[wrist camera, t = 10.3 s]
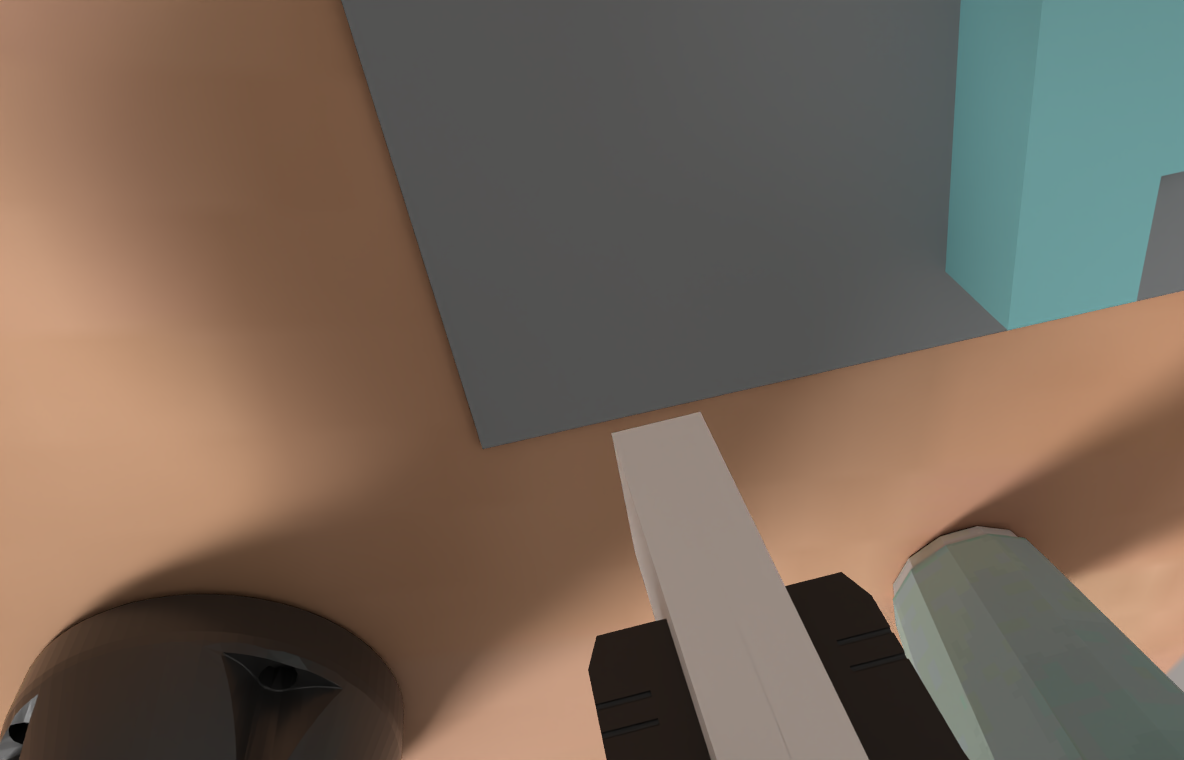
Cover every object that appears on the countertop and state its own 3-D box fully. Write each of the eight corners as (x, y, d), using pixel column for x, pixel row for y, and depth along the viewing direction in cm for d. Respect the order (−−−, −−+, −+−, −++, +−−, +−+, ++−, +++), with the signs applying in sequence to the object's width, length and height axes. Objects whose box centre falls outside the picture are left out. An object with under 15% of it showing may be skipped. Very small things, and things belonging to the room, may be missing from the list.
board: (1399, 236, 32) (1407, 240, 32) (482, 444, 32) (482, 449, 31) (1643, -416, 22) (1657, -418, 22) (302, -129, 21) (300, -129, 21)
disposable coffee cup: (1093, 592, 41) (1375, 938, 29) (881, 692, 43) (1059, 1056, 31) (1038, 444, 35) (1359, 795, 23) (797, 567, 37) (973, 951, 25)
